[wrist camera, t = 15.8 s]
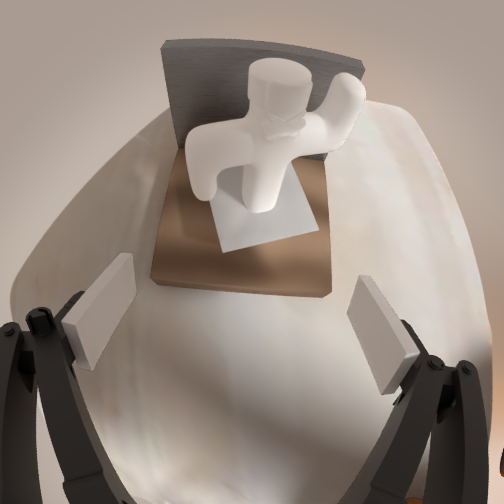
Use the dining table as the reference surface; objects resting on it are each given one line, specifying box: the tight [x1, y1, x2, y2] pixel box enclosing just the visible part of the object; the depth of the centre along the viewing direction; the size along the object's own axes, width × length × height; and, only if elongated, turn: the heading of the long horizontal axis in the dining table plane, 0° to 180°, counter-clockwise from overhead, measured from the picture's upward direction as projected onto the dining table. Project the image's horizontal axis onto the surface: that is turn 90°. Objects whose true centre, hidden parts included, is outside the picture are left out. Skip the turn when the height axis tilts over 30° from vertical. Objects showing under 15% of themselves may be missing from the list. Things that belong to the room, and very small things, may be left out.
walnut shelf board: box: [150, 148, 332, 298], centre depth 26 cm, size 15×15×2 cm
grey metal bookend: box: [161, 39, 365, 162], centre depth 21 cm, size 2×15×12 cm, turn 86°
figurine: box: [185, 58, 366, 253], centre depth 17 cm, size 7×9×15 cm
